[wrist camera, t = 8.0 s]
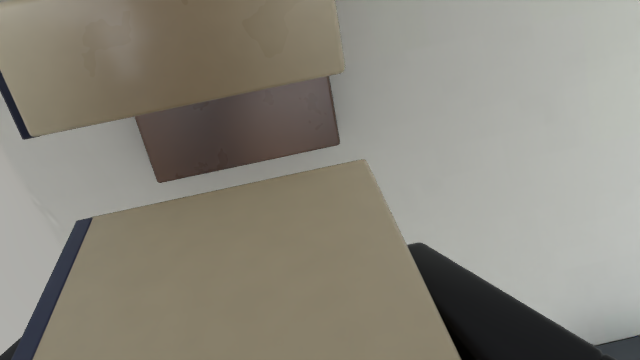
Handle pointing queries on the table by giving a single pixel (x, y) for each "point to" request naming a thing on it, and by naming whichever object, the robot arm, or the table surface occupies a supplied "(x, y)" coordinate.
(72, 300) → the cream book
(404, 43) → the table surface
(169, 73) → the cream books shelf
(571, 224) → the table surface
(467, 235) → the table surface
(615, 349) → the grey books
